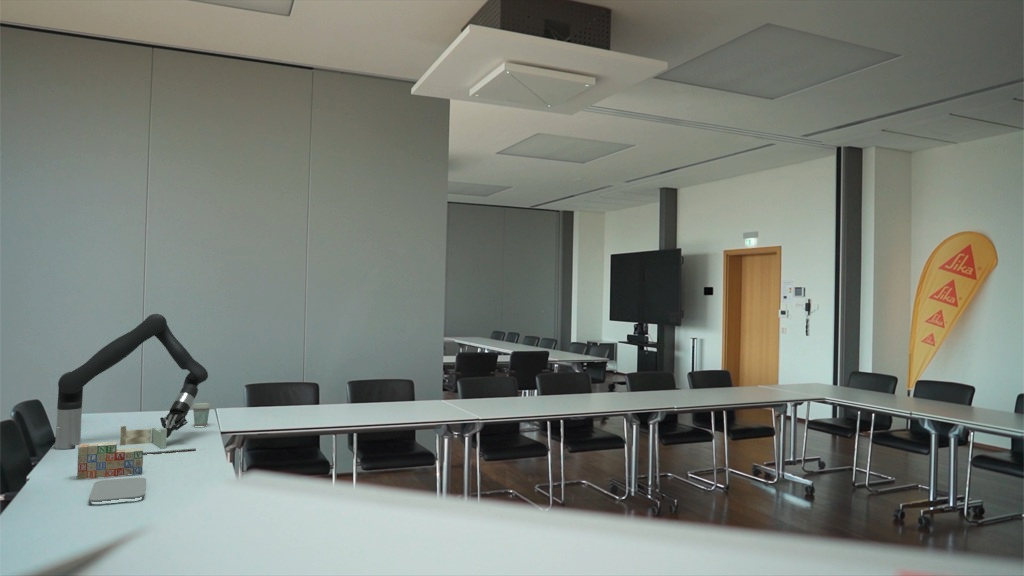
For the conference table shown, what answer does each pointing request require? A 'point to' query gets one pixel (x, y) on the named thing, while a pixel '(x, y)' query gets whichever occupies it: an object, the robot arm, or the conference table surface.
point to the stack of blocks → (108, 460)
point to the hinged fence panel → (159, 437)
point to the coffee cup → (201, 413)
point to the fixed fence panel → (134, 436)
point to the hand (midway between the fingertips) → (165, 436)
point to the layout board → (170, 451)
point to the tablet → (118, 489)
